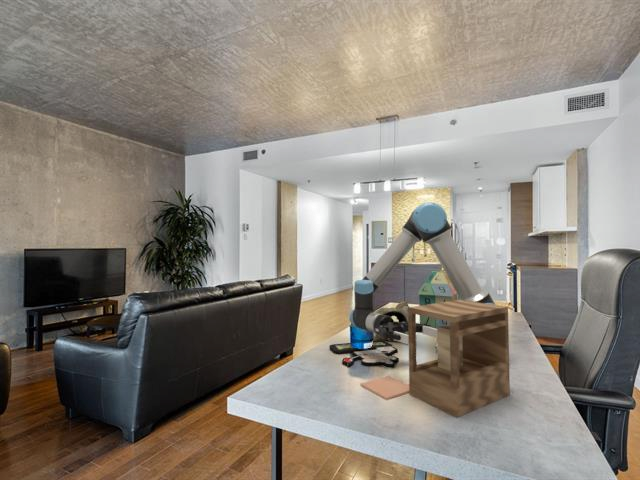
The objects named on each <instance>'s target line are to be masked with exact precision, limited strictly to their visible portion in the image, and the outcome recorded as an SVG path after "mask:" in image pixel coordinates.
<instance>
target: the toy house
mask: <svg viewBox="0 0 640 480" xmlns="http://www.w3.org/2000/svg"><path fill="white" fill-rule="evenodd" d="M417 295H418V297H419V298H418V299H419V306H421V305H428V304H435V303H442V302H448V301H455V300H458V294H457V292H456V290H455V289H454V287H453V285H452V283H451V281H450V280H449V278H448V276H447V274H446V273H445V271H444V269H437V270H435V271H434V270H433V271H432V270H431V271H430V273H429V275H428V276H427V278H426V279H425V281H424V282H423V284H422V286H421V287H420V289H419V290H418V292H417ZM424 323H425V324H427V325H428V327H431V328H435V329H437V327H439V326H444V325H450V322H449V321H445V320H440V319H435V318H431V317H426V316H422V315H419V324H424Z"/></svg>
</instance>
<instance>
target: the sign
mask: <svg viewBox="0 0 640 480" xmlns="http://www.w3.org/2000/svg"><path fill="white" fill-rule="evenodd" d="M372 341H373V345H372V347H371V348H368V349H358V348H353V347H352V346H351V343H352V342H344V343H335V344H332V343H331V344H330V345H329V347H328V348H329V350H330V352H332V353H333V354H335V355H339V356H340V355H347V354H348V355H350V354H352V357H343V358H342V359H341V361H342V362H341V365H342V366H345V367H346V368H348V369H349V368H351V367H353V365H354V364H355V362H358V361H360V363H361V366H363V367H368V368H370V367H371V368H372V367H373V368H374V367H385V368H388V369H393V368H394V369H395V367H396V364H399V362H400V359H399V357H398V356H395V354H398V352H399V351H398V348H397V347H395V346H393V344H392V343H391V342H388V340H384V339H376V340H372Z"/></svg>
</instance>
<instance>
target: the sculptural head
mask: <svg viewBox="0 0 640 480" xmlns="http://www.w3.org/2000/svg"><path fill="white" fill-rule="evenodd" d="M408 307H410V306H409V304H408V302H406V301H404V300H403V301H401V302H398V304H396V306H395V307H381V308H378V309H376V310H375V311H374V312H375V313H379V314H383V315H387V316H390V317H391V318H392V317H396V320H397V322H401V321H404V322H408ZM402 331H403V329H402ZM403 334H406V335H409V334H408V332H405V333H403ZM375 335H376V336H377V337H379V338H380V339H383V338H382V337H381V336H380V335H379V334H375ZM387 341H389V338H388V340H387ZM393 342H397V341H396V340H394V339H393Z"/></svg>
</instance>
